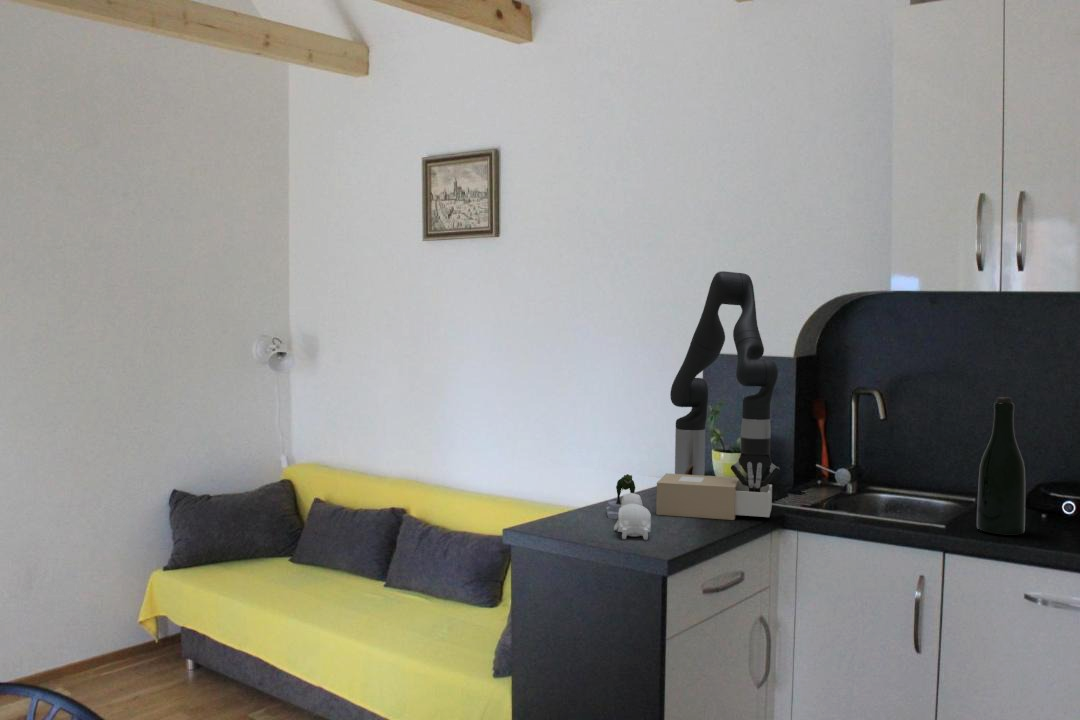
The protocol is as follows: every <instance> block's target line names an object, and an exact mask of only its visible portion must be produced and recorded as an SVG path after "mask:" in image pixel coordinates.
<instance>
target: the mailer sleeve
mask: <svg viewBox="0 0 1080 720" xmlns="http://www.w3.org/2000/svg"><path fill="white" fill-rule="evenodd" d="M738 483H741V482H740V480H739V479H738V478H737V476H736V477H733V476H719V475H718V476H717V475H715V476H714V475H704V476H702V475H684V474H675V473H667V472H666V473H665V474H664V475H663V476H661V478H660V479H659V480H658V481H657V482H656V504H655V505H656V507H655V508H656V510H655V511H656V512H655V514H656V515H657V516H659V515H660V516H672V517H674V516H675V517H684V518H685V517H686V518H687V517H688V518H700V519H701V518H702V519H713V520H714V519H717V520H727V521H729V520H730V521H735V519H736V517H737V515H735V489H736V487H737V485H738Z"/></svg>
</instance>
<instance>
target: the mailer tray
mask: <svg viewBox="0 0 1080 720" xmlns="http://www.w3.org/2000/svg"><path fill="white" fill-rule="evenodd" d="M755 484H756V483H754V487H755ZM772 498H773V484H768V485H767V486H764V487H761V488H760V492H749V487H748V486H746V485H743V484H742V483H741V482H740V483H738V485H737V487H736V489H735V515H736V516H746V517H747V516H749V517H760V518H761V517H762V518H763V517H764V518H770V516H771V512H772V504H773V499H772Z"/></svg>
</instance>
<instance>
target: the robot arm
mask: <svg viewBox="0 0 1080 720" xmlns="http://www.w3.org/2000/svg"><path fill="white" fill-rule="evenodd" d="M754 291H755V289H754V283H753V281H752V278H751V276H750V274H749V275H748V274H746V273H743V272H733V271H717V272H716V273H715V274H714V275H713V278H712V279H711V282H710V285H709V289H708V292H707V295H706V300H705V304H704V306H703V310H702V313H701V316H700V319H699V321H698V324H697V326H696V328H695V331H694V333H693V335H692V339H691V341H690V344H689V347H688V350H687V353H686V356H685V357H684V360H683V361H682V364H681V366H680V368H679V370H678V372H677V373H676V375H675V377H674V379H673V382H672V385H671V388H670V397H669V398H670V401H671V403H672V404H673V406H675V407H679V408H691V410H690V411H689V412H687V414H686V415H683V416H681V417H679V418H677V419H676V421H675V442H674V443H675V444H674V445H675V446H674V448H675V449H674V474H685V472H686V470H687V469H688V467H689V466H690V465H691V464H693V473H692V474H693V475H702V476H705V469H706V468H705V465H706V463H705V462H706V461H705V459H706V458H705V457H706V453H705V451H706V424H707V419H708V418H707V416H708V401H709V387H708V383H707V381H706V380H705V379H704V378H703V377H697V376H698V375H699V374H700V373H702V372H703V371H704V370H706V369H707V368H708V367H710V366H711V365H712V364H713V363H714V362H715V361H716V360H717V359H718V357H719V356H720V354H721V351H722V350H723V346H724V345H725V341H726V333H725V329H724V327H723V325H722V321H721V319H720V316H719V310H720V307H721V306H722V305H728V306H729V305H731V306H740V308H741V313H740V316H739V318H738V319H737V321H736V323H735V325H734V327H733V331H732V333H733V334H732V337H733V342H734V347H735V349H736V353H737V355H736V356H737V364H736V365H737V366H736V373H735V374H736V375H735V377H736V380H737V382H738V383H739V384H740V385H741V386H743V387H760V389H759V391H758V392H757V393H754V394H751V395H746V396H744V397H743V399H742V412H741V414H742V416H741V417H742V419H741V420H742V421H741V427H740V455H739V458H738V461H737V462H735V463H734V464H731V466H730V469H731V471H732V472H733V474H734V475H735V476H736V477H737V478H738V479H739V480H740V483H742V484H743V485H746V486H748V487H749V492H760V488H761V487H764V486H767V485H770V484H769V483H770V482H771V481H773V479H774V478H775V477H776V476H777V474H778V473H779V472H780V467H779V466H776V465H775V464H774V463H773V460H772V458H771V435H772V431H771V429H772V428H771V427H772V426H771V401H772V398H773V394H774V389H775V386H776V384H777V380H778V377H779V368H778V366H777V364H776V362H775V361H774V360H771V359H761V358H762V357H763V356H764V353H765V347H764V344H763V340H762V336H761V333H760V331H759V327H758V320H757V319H758V318H757V311H756V310H757V308H756V298H755V297H756V296H755V292H754ZM741 467H742V470H743V471H744V472H745V473H746V474H747V478H746V477H745V476H744V474H743V473H742V472H741ZM768 469H769V474H768V475H767V477H765V478H764V480H762V476H763V475H764V474H765V473H766V472H767V470H768ZM754 475H755V476H754ZM754 477H755V479H754ZM754 484H755V487H754Z"/></svg>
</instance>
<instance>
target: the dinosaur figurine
mask: <svg viewBox="0 0 1080 720" xmlns="http://www.w3.org/2000/svg"><path fill="white" fill-rule="evenodd" d="M615 489H616V494H617V495H616V496H617V499H614V500H613V499H612V500H609V501H607V504H608V505H609V506H606V507H605V508H606V516H607V517H608V519H609V520H618V519H619V517H618V512H619V508H621V503H622V499H620V496H621V493H622V491H626V490H629V493H634V494H635V493H636V485H635V482H634V480H633V475H632V474H631V475H630V474H626V475H625V474H624V475H623V476H622V477H621V478H619V479H618V480H617V482H616V486H615ZM643 504H644V503H643V502H642V506H643Z"/></svg>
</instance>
